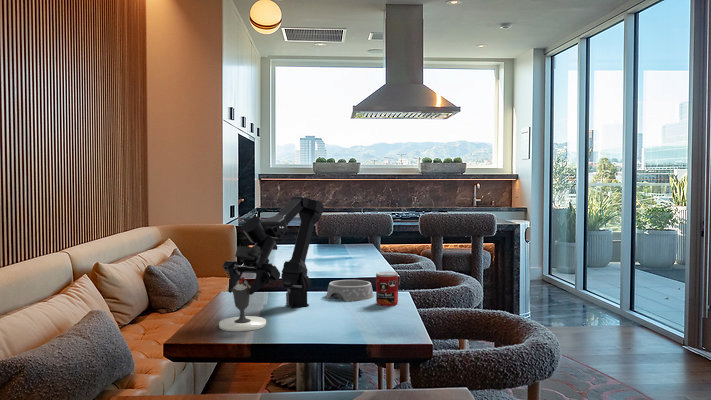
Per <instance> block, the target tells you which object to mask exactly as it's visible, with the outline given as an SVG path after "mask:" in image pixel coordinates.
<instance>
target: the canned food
mask: <svg viewBox="0 0 711 400" xmlns="http://www.w3.org/2000/svg"><path fill="white" fill-rule="evenodd" d="M375 284H376V285H375V290H376V291H375V294H376V295H375V297H376V299H375V303H376V305H378V306H380V307H392V306H396V305H398V302H399V274H398V272H396V271H378V272H376V275H375Z"/></svg>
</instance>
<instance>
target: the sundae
mask: <svg viewBox="0 0 711 400" xmlns="http://www.w3.org/2000/svg"><path fill="white" fill-rule="evenodd" d="M243 273H244V272H243ZM243 273H242V274H241V276H240V280H238V282H237V283H236V285H235V286H234V287H233V288H231V289H230V290H231V291H232V292H231V293H232V294H233V301H234V306H235V308H237V309H238V310H239V312H240V313H239V316H238V317H239V319H237V320H235V321H234V322H235V323H247V322H250V321H251V320H250V319H246V318H245V316H246V315H245V310H246V309H247V308H248V306H249V304H250V296H251V295H250V294H249V291H250V288H251V286H252V285H250V284H249V282H248V281H247V279H245V277H243Z"/></svg>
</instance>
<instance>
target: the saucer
mask: <svg viewBox="0 0 711 400" xmlns="http://www.w3.org/2000/svg"><path fill="white" fill-rule="evenodd" d="M239 317H240V316H234V317H229V318H224V319H221V320H220V321H219V322H218V327H219V329H220V330H223V331H226V332H250V331H255V330H259V329H263V328H264V327H266V325H267V319H266V318H264V317H260V316H255V315H252V316H251V315H248V316H247V315H245V318H246V319H250V320H251V321H250V322H247V323H235V322H234V321H235V320H237V319H239Z"/></svg>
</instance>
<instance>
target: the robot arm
mask: <svg viewBox="0 0 711 400" xmlns="http://www.w3.org/2000/svg"><path fill="white" fill-rule="evenodd" d="M324 208H325V207H324V204H323V203H322V201H321V200H315V199H311V198H309V197H307V196H305V195H304V196H303V195H296V196H293V197H291V199H290V201H289V202H288V203H287V204H286V205H285V206H284V207H282V209H281V210H280V211H279V212H278V213H277V214H275V215H273V216H270V217H268V218H266V219H265V220H263V221H262V220H261V218H260V217H259V216H258V215H253V216H252V218H250V219H248V220H246V221H245V222H244V223H242V226H241V230H242V231H243V233H244V234H245V235H246V237H247V238H248V240H249V241H250V243H253V244H254V245H252V246H251V247H250V246H242V245H237V248H236V252H235V255H234V257H236V258H239V259H240V262H241V264H243V265H240V264H239V262H238V261H237V260H225V261H224V262H223V265H222V266H221V267H222V269H224V271H225V272H226V273H227V275H228V276H229V282H228V291H227V292H229V293H230V294H232V293H233V292H232V291H231V290H230V289H231V288H233V287H234V286H235V285H236V283H237V282H238V280H240V276H241V274H242V273H244V274H247V273H248V274H253V275H255V278H254V280H253V283H252V285H250V286H251V288H250V291H249V294H250V296H252V295H253V294H255V293H257V292H258V291H259V290H260V289H261V288H263V287H265V286H267V285H268V284H269V283H270V284H271V283H273V282H278V281H279V280H280V279H281V281H282V286H283V289H287V292H286V293H285V300H286V301H285V302H286V303H285V305H286V306H288V307H290V308H292V309H294V308H301V307H309V306H310V304H309V303H308V290H310V289H311V288H312V281H311V278H309V276H308V268H307V265H306V261H307V260H306V259H307V256H308V251H309V248H310V245H311V244H310V243H311V239H312V236H313V231H314V227H315V225H316V224H317V223H318V222H319V221H320V220H321V217H322V215H323V212H324ZM297 215H298V216H299V218H300V224H299V229H298V232H297V236H296V240H295V243H294V247H293V250H292V251H293V252H292V255H291V258H290V260H287V261H285V262H283V267H282V270H281V272H280V270H279V269H278V268H277V266H276V264H275V263H271V262H270V259H269V257H270V254H271V253H272V252H273V251H274V250H275V251H277V250H278V245H277V241H275V240H274V239H281V238H283V237H284V236H285V234H286V232H287V231H288V225H289V224H290V222H291V221H292V220H293V219H294V218H295V217H296V216H297ZM242 275H243V274H242ZM241 277H242V276H241Z"/></svg>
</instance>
